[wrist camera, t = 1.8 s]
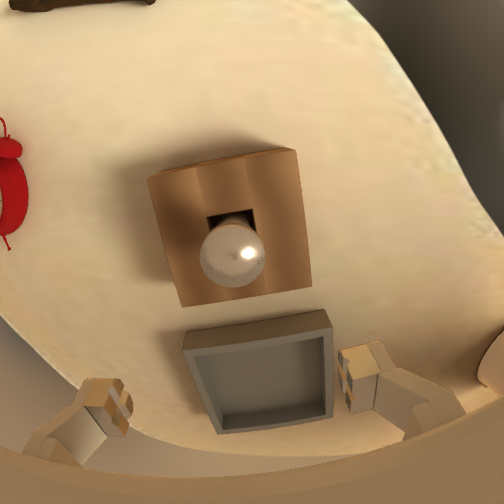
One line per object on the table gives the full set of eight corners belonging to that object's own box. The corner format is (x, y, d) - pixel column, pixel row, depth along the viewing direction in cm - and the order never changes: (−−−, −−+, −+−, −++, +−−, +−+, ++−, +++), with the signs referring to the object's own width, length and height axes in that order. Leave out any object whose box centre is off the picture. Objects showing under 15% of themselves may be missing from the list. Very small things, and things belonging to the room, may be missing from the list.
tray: (324, 309, 34) (332, 326, 31) (327, 399, 40) (333, 417, 37) (186, 331, 35) (181, 350, 31) (218, 416, 41) (217, 434, 37)
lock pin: (253, 194, 28) (259, 221, 20) (261, 239, 30) (269, 281, 22) (206, 203, 29) (193, 233, 20) (216, 247, 30) (207, 291, 22)
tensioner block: (286, 147, 28) (295, 150, 23) (302, 264, 32) (312, 286, 28) (161, 171, 28) (147, 178, 24) (189, 283, 32) (182, 307, 28)
